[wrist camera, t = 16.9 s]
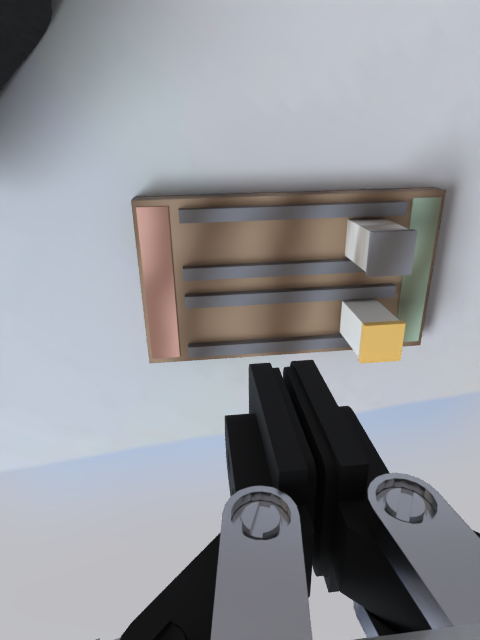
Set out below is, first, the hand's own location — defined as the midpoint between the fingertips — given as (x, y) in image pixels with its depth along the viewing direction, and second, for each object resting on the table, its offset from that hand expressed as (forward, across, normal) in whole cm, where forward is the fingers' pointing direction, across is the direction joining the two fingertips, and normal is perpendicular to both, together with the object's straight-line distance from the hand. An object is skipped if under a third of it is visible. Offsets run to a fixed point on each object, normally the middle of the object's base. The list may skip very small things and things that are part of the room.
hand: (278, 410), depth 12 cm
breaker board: (+27, -6, +5) cm, 28 cm away
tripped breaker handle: (+25, -12, +9) cm, 29 cm away
